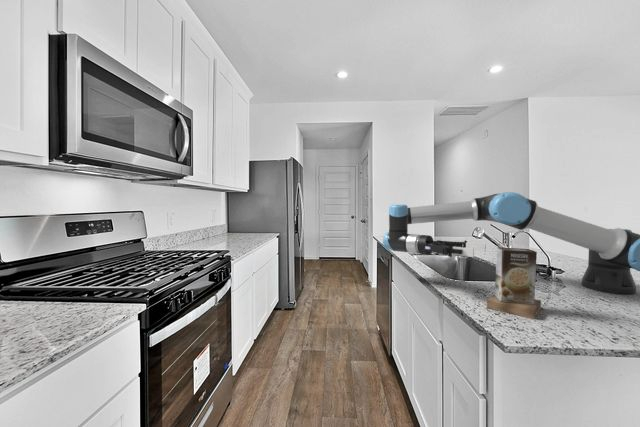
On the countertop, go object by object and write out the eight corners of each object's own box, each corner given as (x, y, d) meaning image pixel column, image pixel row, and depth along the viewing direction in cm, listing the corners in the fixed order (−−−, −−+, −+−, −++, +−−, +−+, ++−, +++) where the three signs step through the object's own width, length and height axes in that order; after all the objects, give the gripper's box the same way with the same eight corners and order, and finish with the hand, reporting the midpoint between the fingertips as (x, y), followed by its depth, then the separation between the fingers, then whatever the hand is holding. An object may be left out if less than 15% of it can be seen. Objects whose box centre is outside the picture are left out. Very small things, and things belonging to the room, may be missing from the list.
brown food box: (500, 302, 89) (502, 249, 89) (494, 295, 96) (495, 246, 95) (535, 305, 87) (537, 251, 86) (526, 298, 93) (528, 248, 92)
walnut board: (540, 308, 91) (541, 300, 91) (534, 319, 83) (534, 310, 83) (497, 299, 100) (497, 292, 100) (486, 308, 91) (487, 300, 91)
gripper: (433, 250, 124) (489, 256, 109) (405, 258, 106) (467, 267, 91) (433, 232, 124) (489, 236, 109) (405, 237, 106) (468, 243, 91)
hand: (480, 250), depth 100 cm, fingers open, 13 cm apart
